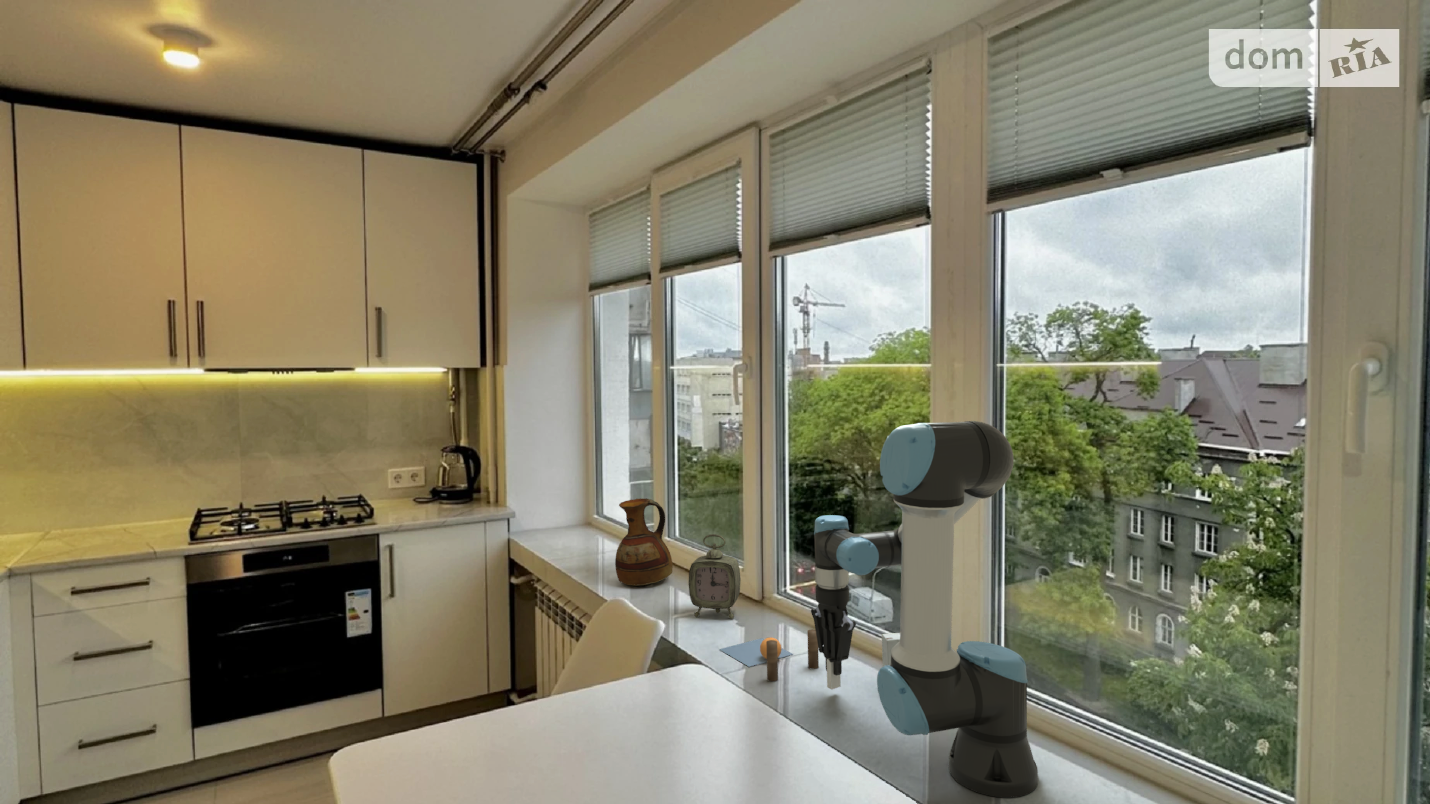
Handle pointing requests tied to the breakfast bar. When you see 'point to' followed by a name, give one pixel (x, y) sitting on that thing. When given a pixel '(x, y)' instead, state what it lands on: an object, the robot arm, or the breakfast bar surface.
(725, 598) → the tabletop clock
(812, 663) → the right post
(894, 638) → the skincare box
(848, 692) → the breakfast bar surface
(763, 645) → the ball
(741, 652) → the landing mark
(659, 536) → the ceramic pitcher
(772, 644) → the left post
